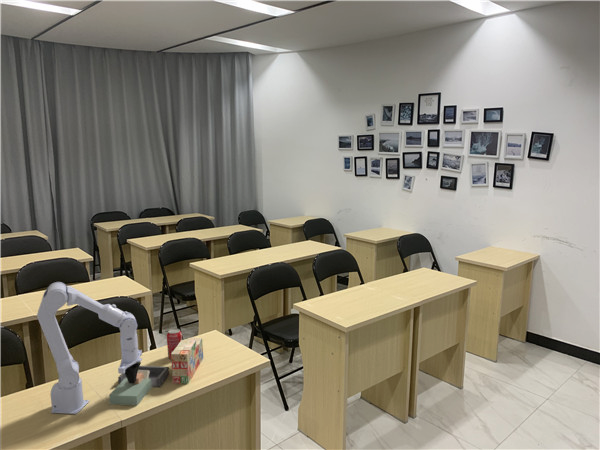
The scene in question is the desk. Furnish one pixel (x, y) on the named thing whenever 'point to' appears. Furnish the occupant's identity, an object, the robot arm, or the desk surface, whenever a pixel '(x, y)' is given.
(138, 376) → the terracotta tile
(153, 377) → the tray
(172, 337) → the beverage can
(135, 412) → the desk surface
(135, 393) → the sage green slab
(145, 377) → the cream tile
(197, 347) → the stack of blocks
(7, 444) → the desk surface
